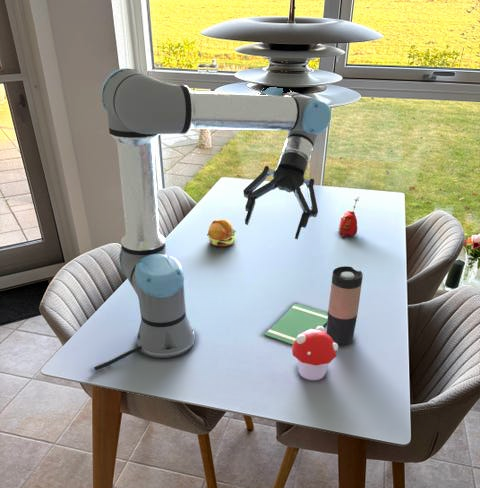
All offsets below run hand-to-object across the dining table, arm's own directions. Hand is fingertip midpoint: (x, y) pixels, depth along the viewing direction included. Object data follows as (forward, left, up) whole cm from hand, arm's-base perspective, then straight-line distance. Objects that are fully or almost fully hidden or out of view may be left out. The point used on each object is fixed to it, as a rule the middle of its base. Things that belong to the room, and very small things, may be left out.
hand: (271, 230), depth 132 cm
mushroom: (-16, -21, -27) cm, 38 cm away
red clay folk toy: (+66, +3, -27) cm, 72 cm away
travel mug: (+1, -21, -27) cm, 35 cm away
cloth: (+1, -9, -27) cm, 29 cm away
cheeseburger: (+35, +40, -27) cm, 60 cm away
